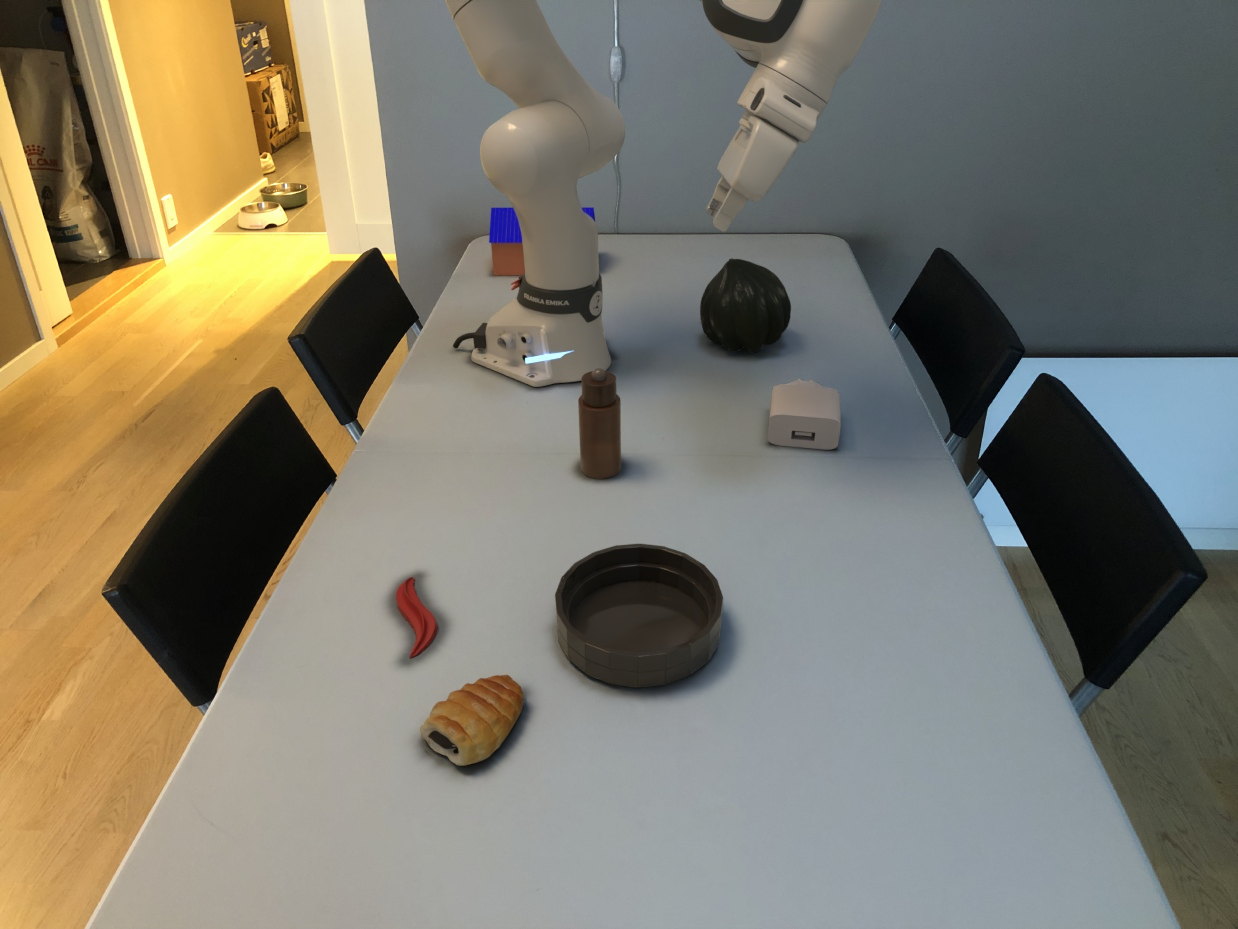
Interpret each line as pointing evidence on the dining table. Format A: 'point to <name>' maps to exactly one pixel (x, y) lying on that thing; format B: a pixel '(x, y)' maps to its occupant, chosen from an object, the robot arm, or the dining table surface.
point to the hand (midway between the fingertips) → (714, 221)
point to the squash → (744, 307)
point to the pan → (638, 615)
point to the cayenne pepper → (416, 616)
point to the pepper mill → (599, 425)
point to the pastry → (474, 719)
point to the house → (510, 241)
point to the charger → (804, 415)
